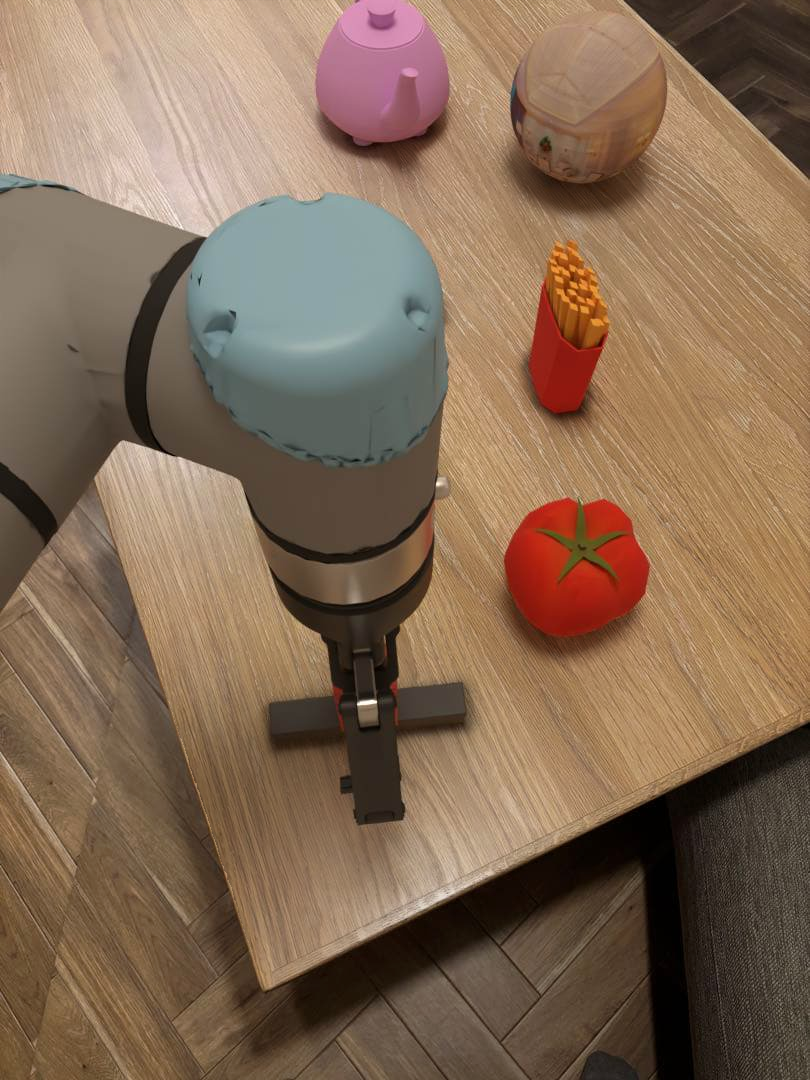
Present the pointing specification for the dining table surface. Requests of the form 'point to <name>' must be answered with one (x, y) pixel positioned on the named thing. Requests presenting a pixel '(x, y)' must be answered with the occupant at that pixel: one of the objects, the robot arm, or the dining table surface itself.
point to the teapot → (382, 72)
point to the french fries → (567, 331)
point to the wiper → (324, 721)
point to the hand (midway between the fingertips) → (368, 683)
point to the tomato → (575, 566)
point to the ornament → (588, 96)
